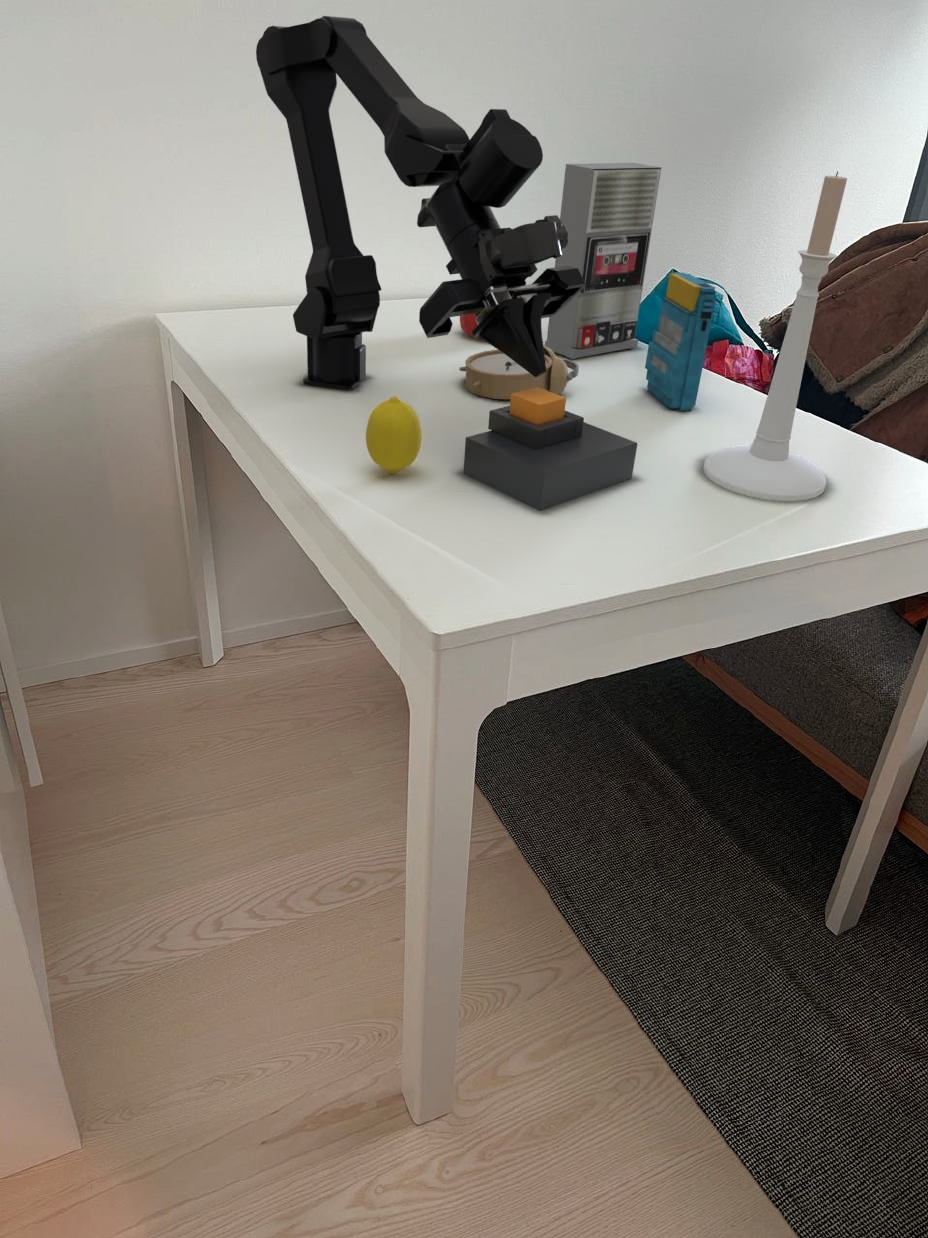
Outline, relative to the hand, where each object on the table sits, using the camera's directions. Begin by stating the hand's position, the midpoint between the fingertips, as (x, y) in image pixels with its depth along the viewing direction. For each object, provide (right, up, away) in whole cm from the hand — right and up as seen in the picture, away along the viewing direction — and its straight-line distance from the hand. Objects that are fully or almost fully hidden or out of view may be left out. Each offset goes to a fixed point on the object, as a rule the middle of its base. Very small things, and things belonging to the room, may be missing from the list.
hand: (541, 374), depth 94 cm
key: (0, -4, +2) cm, 4 cm away
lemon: (-15, -10, +2) cm, 18 cm away
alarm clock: (0, +5, +29) cm, 29 cm away
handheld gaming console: (+19, +4, +29) cm, 35 cm away
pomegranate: (-4, +19, +51) cm, 54 cm away
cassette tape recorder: (+11, +16, +47) cm, 51 cm away
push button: (+1, -10, +4) cm, 10 cm away
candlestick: (+25, -9, +8) cm, 27 cm away
